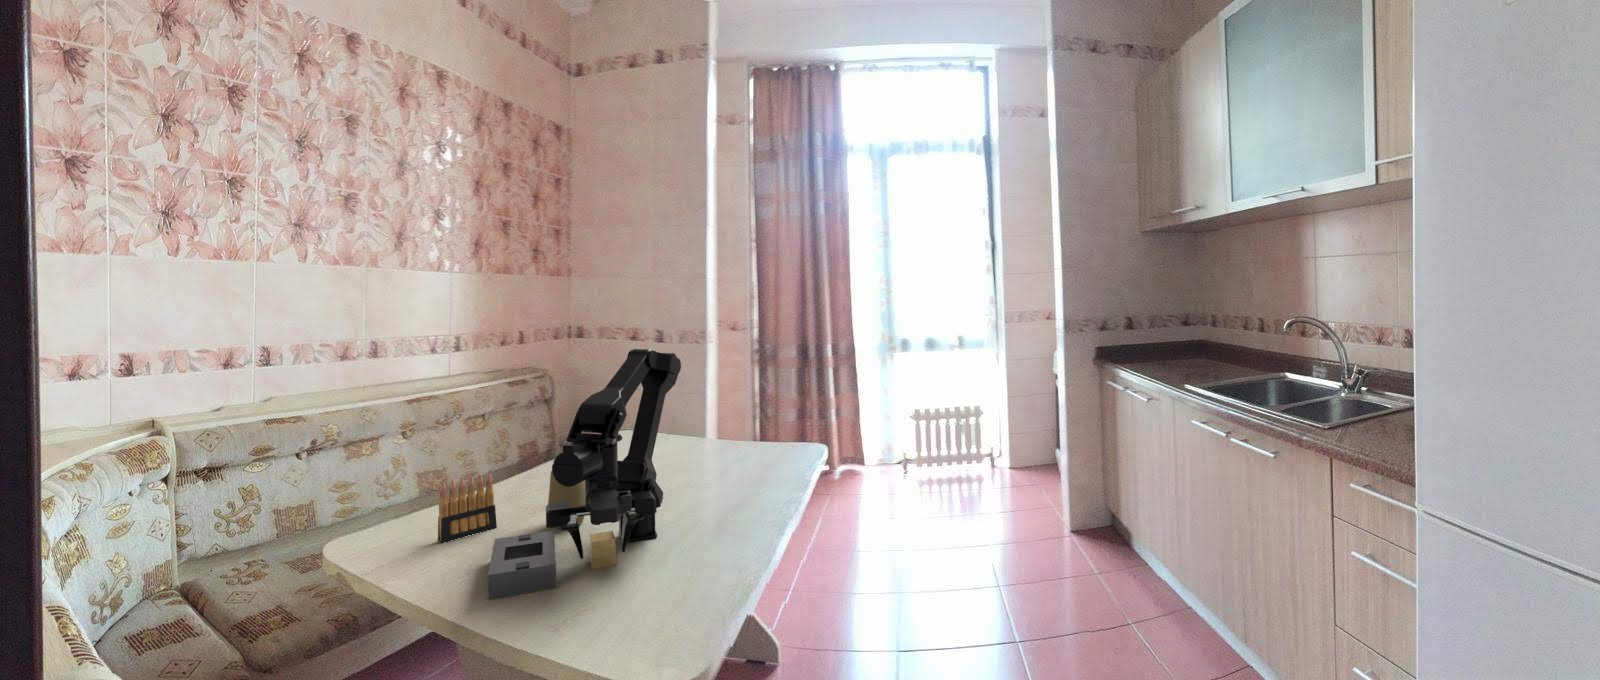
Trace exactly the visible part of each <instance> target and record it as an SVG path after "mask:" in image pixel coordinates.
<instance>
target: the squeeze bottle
mask: <svg viewBox="0 0 1600 680" xmlns="http://www.w3.org/2000/svg"><path fill="white" fill-rule="evenodd" d="M565 444H571V442H567V440H564V441H563V442H562V447H561V453H563V445H565ZM561 453H560V454H561ZM561 501H569V504H570V506H578V505H585V480H584V481H582V482H580V483H578V484H576V485H574V486H570V487H566V486H563V485H561V484H560V483H558V482H557V481H556V479H555V478H554V476H553V473H552V470H550V478H549V489H548V499H547V505H548V504H549V503H553V502H561ZM577 519H578V525H579V526H580V525H582V524H583V522H584V520H585V516H579V517H577ZM555 528H556V529H561V527H555Z"/></svg>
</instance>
